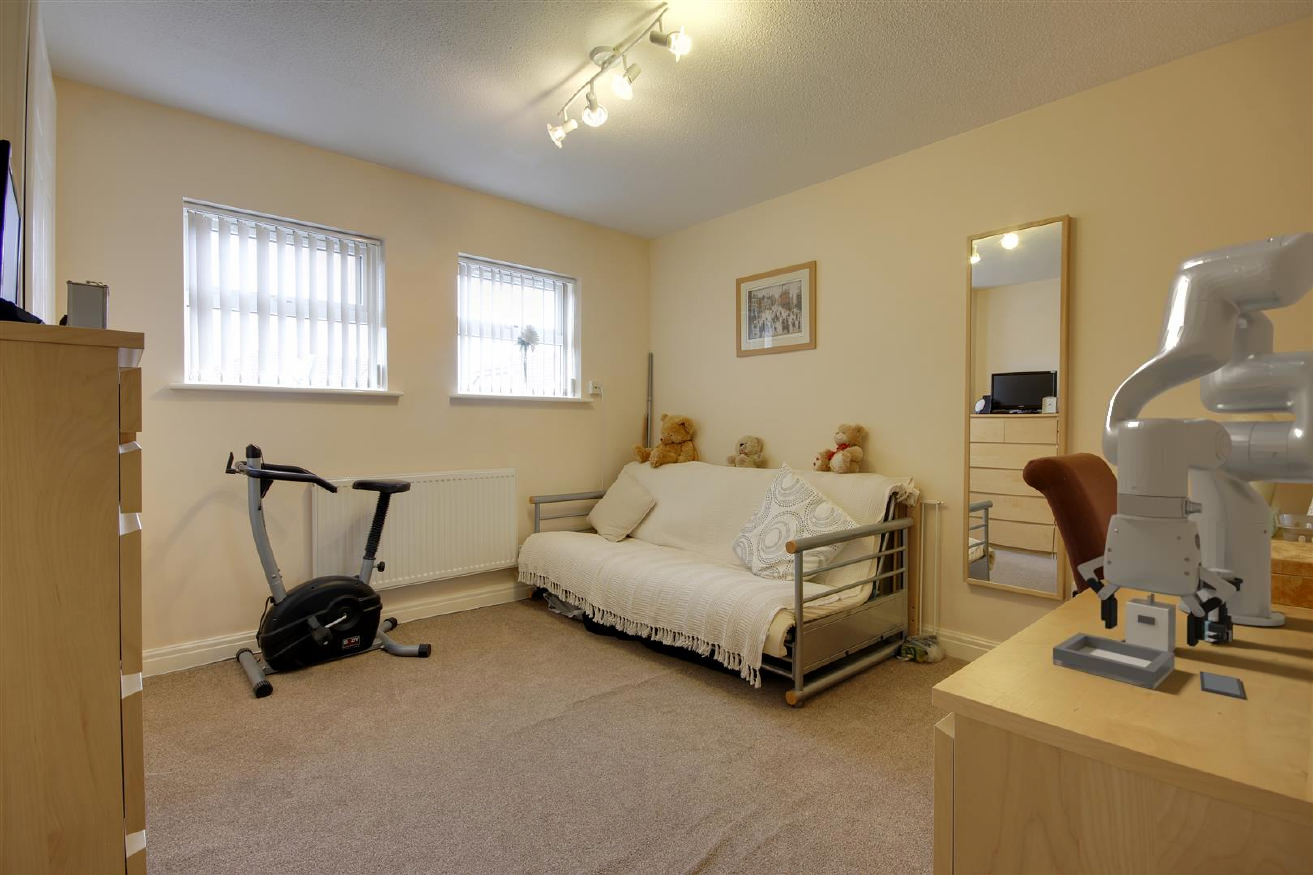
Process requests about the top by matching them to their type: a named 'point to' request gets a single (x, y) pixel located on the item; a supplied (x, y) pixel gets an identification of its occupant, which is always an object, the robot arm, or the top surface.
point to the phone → (1221, 685)
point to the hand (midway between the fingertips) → (1150, 634)
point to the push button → (1219, 610)
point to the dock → (1115, 660)
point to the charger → (1151, 624)
